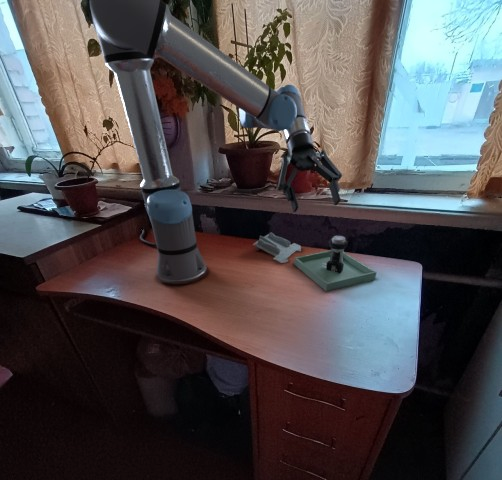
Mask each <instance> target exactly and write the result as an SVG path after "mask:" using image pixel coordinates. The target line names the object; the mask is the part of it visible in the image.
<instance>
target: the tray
mask: <svg viewBox="0 0 502 480" xmlns="http://www.w3.org/2000/svg"><path fill="white" fill-rule="evenodd" d="M340 253H341V250H340ZM333 254H334V253H333ZM330 255H331V249H330V250H325V251H319V252H316V253H311V254H306V255H301V256H296V257H294V262H293V265H294V266H295V267H296V268H298V269H299V270H300V271H301V272H302V273H304V274H305V275H306V276H307V277H309V278H310V279H311V280H313V282H314V283H316V284H317V285H318V286H320V287H321V288H322V289H323V290H324V291H325V292H329V291H333V290H336V289H341V288H345V287H349V286H354V285H357V284H358V285H359V284H362V283H365V282H369V281H373V280H376V275H377V271H376V270H374V269H372V268H371V267H369V266H368V265H366V264H365V263H362V262H361V261H359V260H357V259H356V258H354V257H352V256H351V255H349V254H348V253H346V252H343V258H342V260H343V262H344V268H343V271H342V272H341V273H338V272H332V271H329V270H327V269H326V268H325V267H324V266H326V265H325V264H322V263H327V262H328V261H329V259H330ZM322 266H323V267H322Z"/></svg>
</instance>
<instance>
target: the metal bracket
mask: <svg viewBox="0 0 502 480" xmlns="http://www.w3.org/2000/svg"><path fill="white" fill-rule="evenodd" d="M252 246H254V247H256V251H257V252H259V251H260V250H262V251H264V252H265V253H268V254H270V255H271V256H274V257H273V261H276V262H278V263H279V264H284V263H288V262H289V260H288V258H289V257H291V256H292V255H293V254H294V253H295V252H299V253H300V252H302V246H301V245H300V244H298V243H295V242H293V243H292V244H291V241H290V240H288V239H286V238H284V237H282V236H278V235H276V234H274V233H273V232H271V231H270V232H269V233H268V234H266V235H264V236H262V235H259V239H258V240H257V241H255V242H254V243H253V244H252Z"/></svg>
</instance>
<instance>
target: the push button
mask: <svg viewBox="0 0 502 480" xmlns="http://www.w3.org/2000/svg"><path fill="white" fill-rule="evenodd" d="M328 244H329V245H328V246H329V248H330V250H331V255H330V259H329V261H328V262H327V263H322V264H325V265H326V266H324V267H325V268H326V269H327V270H329V271H332V272H338V273H341V272H342V271H343V268H344V262H343V260H342V258H343V252H344V251H345V249H346V248H347V247H348V244H349V240H347V239H346V236H343V235H334V236H332V238H330V239H329V240H328ZM340 250H341V253H340ZM333 253H334V254H333ZM344 253H345V252H344ZM322 267H323V266H322Z"/></svg>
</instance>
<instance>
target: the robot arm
mask: <svg viewBox="0 0 502 480" xmlns="http://www.w3.org/2000/svg"><path fill="white" fill-rule="evenodd" d="M89 9H90V12H91V13H90V14H91V21H92V26H93V28H94V31H95V33H96V35H97V38H98V42H99V45H100V49H101V52H102V56H103V59H104V64H105V66H106V67H107V68H108V69H109V70H110V71H112V73H113V74H114V76H115V80H116V83H117V87H118V91H119V94H120V97H121V98H120V99H121V101H122V104H123V109H124V112H125V116H126V120H127V123H128V127H129V130H130V134H131V139H132V141H133V144H134V145H133V146H134V149H135V152H136V156H137V160H138V163H139V167H140V171H141V175H142V178H143V179H142V181H141V183H140V184H139V187H140V189H141V194H142V198H143V201H144V207H145V211H146V213H147V215H148V218H149V221H150V223H151V227H152V231H153V236H154V240H155V243H153V242H150V241H148V240H145V239H144V238H143V237H144V236H145V234H146V231H145V229H143V230H142V229H141V231H142V233H141V234H140V236H139V240H140V241H141V242H142V243H144V244H146V245H149V246H152V247H156V248H157V252H158V253H157V254H158V255H157V263H156V264H157V265H156V275H157V279H158V281H160V282H161V283H163V284H166V285H170V286H171V285H172V286H180V285H187V284H192V283H195V282H197V281H199V280H201V279H203V278H204V277H205V276H206V275H207V272H208V269H207V264H206V261H205V260H204V258H203V255H202V254H201V252H200V250H199V248H198V242H197V235H196V230H195V223H194V217H193V205H192V203H191V199H190V197H189V195H188V194H187V193H186V192H184V191H182V188H181V185H180V184H181V183H180V179H179V178H178V177H176V176H174V174H173V170H172V166H171V161H170V157H169V151H168V147H167V143H166V139H165V134H164V129H163V125H162V120H161V115H160V111H159V106H158V102H157V98H156V93H155V92H156V91H155V89H154V84H153V79H152V75H151V68H152V66H153V64H154V62H155V59H158V58H159V59H161V60H163V61H164V62H166V63H168V64H169V65H171V66H172V67H174V68H176V69H177V70H179V71H180V72H182V73H184V74H185V75H186V76H188V77H190V78H191V79H193V80H194V81H196V82H198V83H199V84H201V85H203V86H204V87H205V88H207V89H208V90H210V91H211V92H213V93H215V94H217V95H218V96H220V97H221V98H223V99H224V100H226V101H228V103H230V104H231V105H234V106H235V107H237V108H238V115H239V116H238V117H239V120H240V121H239V122H240V124H241V126H242V128H244V129H256V128H259V129H266V130H272V131H276V132H281V131H282V134H283V137H284V141H285V144H286V148H287V149H286V150H287V152H288V155H289V156H288V155H286V154H284V155H283V156H282V158H281V161H280V165H281V169H280V173H279V178H278V184H277V188H276V189H277V190H278V191H282V192H283V193H284V194H285V197H286V201H287V202H290V206H291V209H292V213H296V212H297V211H298V210H299V203H298V201H297V196H296V192H295V189H294V186H291V184H292V182H293V180H294V178H295V176H296V174H297V172H298V171H300V172H305V171H312V172H315V173H317V174H318V175H319V176H321V177H322V178H323V179H325V180H326V181H327V182H328V183H329V184H328V188H329V190H330V194H331V195H330V196H331V198H332V201H333V202H332V203H333V206H337V205H338V204H339V203H340V202H341V196H340V191H341V189H340V185H339V181H340V180H341V178H342V177H343V174H342V172H341V171H340V170H339V168H337V166H336V164H335V163H334V162H333V161H332V160H331V159H330V158H329V156H328V155H327V152H326V150H325V149H322V150H321V151H320V152H316V150H315V145H314V141H313V138H312V135H311V130H310V126H309V124H308V121H307V118H306V113H305V110H304V109H305V108H304V107H303V101H302V98H301V96H300V93H299V90H298V88H297V87H296V86H295V85H293V84H286V85H284V86H281V87H279V88H278V89H277V90H275V89H273V88H272V87H271V86H269V85H268V84H267V83H265V82H264V81H263V80H261V79H260V78H258V77H257V76H255V74H253V73H252V72H250V71H249V70H248V69H246V68H245V67H243V66H242V65H241V64H239V63H238V62H236V61H235V60H234V59H232V58H231V57H230V56H229V55H227V54H226V53H225V52H223V51H222V50H220V49H218V48H217V47H216V46H215V45H214V44H212V43H211V42H210V41H208V40H206V39H205V38H204V37H202V36H201V35H200V34H198V33H197V32H196V31H194V30H193V29H192V28H190V27H189V26H187V25H186V24H185V23H183V22H182V21H180V20H179V19H178V18H176V17H175V16H174V15H172V13H171V11H170V7H169V5H168V4H167V2H165V1H163V0H89ZM289 164H291V165H292V166H293V169H292V171H291V173H290V176H289V178H288V179H287V180H286V181H287V182H286V183H285V179H286V175H287V170H288V166H289Z"/></svg>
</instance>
